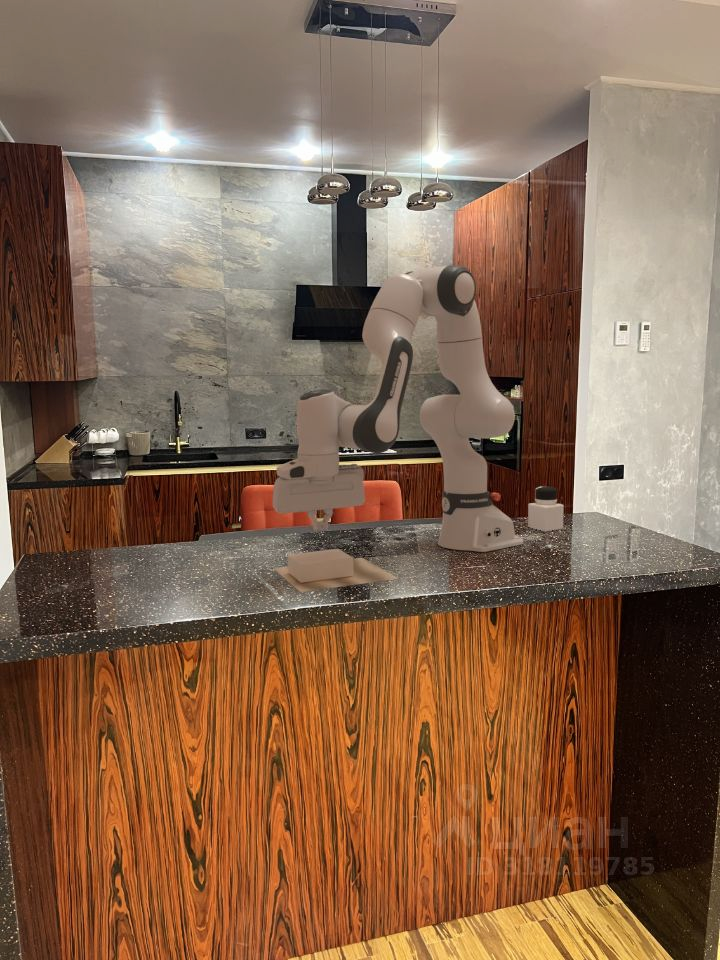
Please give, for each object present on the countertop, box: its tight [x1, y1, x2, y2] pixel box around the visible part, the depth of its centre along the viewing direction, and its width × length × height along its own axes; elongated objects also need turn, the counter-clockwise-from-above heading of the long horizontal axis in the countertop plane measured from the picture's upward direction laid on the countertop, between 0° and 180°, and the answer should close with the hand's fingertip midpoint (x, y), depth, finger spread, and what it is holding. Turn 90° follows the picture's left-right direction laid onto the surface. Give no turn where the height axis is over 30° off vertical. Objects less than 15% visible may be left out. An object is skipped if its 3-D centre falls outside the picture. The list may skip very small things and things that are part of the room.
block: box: [287, 548, 354, 583], centre depth 154 cm, size 4×9×12 cm
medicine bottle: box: [527, 486, 565, 533], centre depth 201 cm, size 7×7×12 cm
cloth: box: [273, 557, 399, 593], centre depth 155 cm, size 22×20×1 cm
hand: (320, 529), depth 153 cm, fingers closed
